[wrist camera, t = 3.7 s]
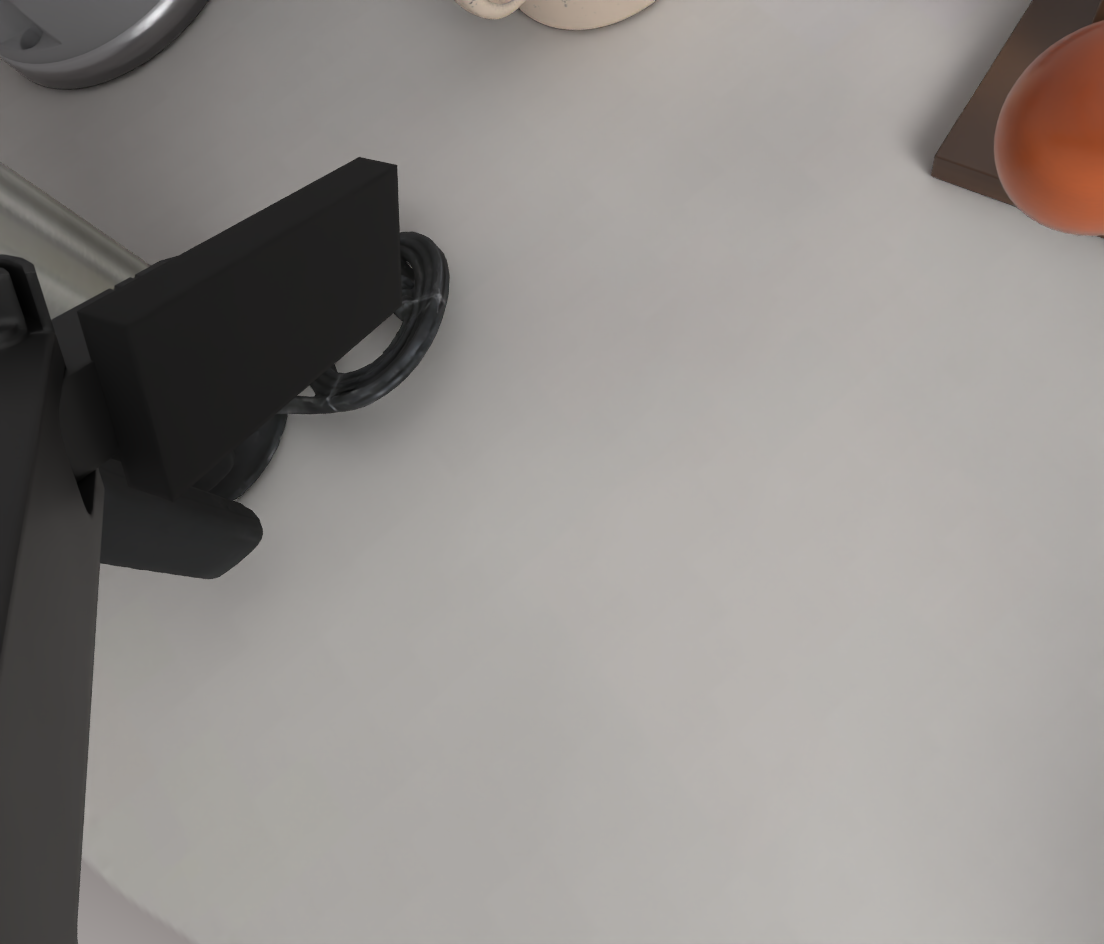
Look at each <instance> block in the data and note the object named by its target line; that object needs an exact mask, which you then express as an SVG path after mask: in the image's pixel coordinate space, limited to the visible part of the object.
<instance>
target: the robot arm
mask: <svg viewBox="0 0 1104 944" xmlns="http://www.w3.org/2000/svg"><path fill="white" fill-rule="evenodd" d="M207 1H208V0H0V58H2V59H3V60H4V61H5V62H7V63H8V64H9V65H10V66H12V67H13V68H14V69H15V70H17V71H18V72H19V73H20V74H22V75H23V76H24V77H26V78H27V79H29V80H30V81H32V82H34V83H36V84H39V85H42V86H45V87H50V88H57V89H76V88H83V87H89V86H93V85H97V84H100V83H103V82H106V81H109V80H112V79H114V78H116V77H119V76H121V75H123V74H125V73H127V72H129V71H131V70H133V69H135V68H136V67H138V66H140V65H141V64H143V63H145V62H146V61H148V60H149V59H151V58H152V57H153V56H155V55H156V54H157V53H159V52H160V51H161V50H163V49H164V48H165V47H166V46H168V45H169V44H170V43H171V42H172V41H173V40H174V39H175V38H176V37H177V36H178V35H179V34H181V33H182V32H183V31H184V30H185V28H186V27H187V26H188V25H189V24H190V23H191V22H192V21H193V20H194V18H195V17H196V16H197V15H198V13H199V12H200V11H201V10H202V8H203V7H204V5H205V4H206V3H207ZM401 306H402V287H401V259H400V231H399V204H398V176H397V165H394V164H389V163H385V162H380V161H375V160H371V159H366V158H361V157H358V158H356V159H355V160H353V161H351V162H349V163H347V164H346V165H344V166H342V167H340V168H338V169H336V170H335V171H333V172H331V173H329V174H327V175H325V176H324V177H322V178H320V179H318V180H316V181H314V182H313V183H311V184H309V185H307V186H305V187H303V188H302V189H300V190H298V191H296V192H294V193H292V194H291V195H289V196H287V197H285V198H283V199H281V200H280V201H278V202H276V203H274V204H272V205H270V206H269V207H267V208H265V209H263V210H261V211H259V212H258V213H256V214H254V215H252V216H250V217H249V218H247V219H245V220H243V221H241V222H239V223H238V224H236V225H234V226H232V227H230V228H228V229H227V230H225V231H223V232H221V233H219V234H217V235H216V236H214V237H212V238H210V239H208V240H206V241H205V242H203V243H201V244H199V245H197V246H195V247H194V248H192V249H190V250H188V251H186V252H184V253H183V254H181V255H179V256H176V257H172V258H168V259H165V260H161V261H159V262H157V263H155V264H153V265H152V266H150V267H148V268H146V269H144V270H142V271H140V272H139V273H137V274H135V277H134V278H131V277H129V278H127V279H126V280H124V281H122V282H120V283H118V284H116V285H115V286H114V289H110V288H109V289H107V290H105V291H103V292H102V293H100V294H98V295H96V296H94V297H92V298H90V299H89V300H87V301H85V302H83V303H81V304H79V305H77V306H76V307H74V308H72V309H70V310H68V311H66V312H65V313H63V314H61V315H59V316H57V317H55V318H53V319H52V320H51V317H50V314H49V311H48V308H47V305H46V302H45V298H44V295H43V292H42V289H41V286H40V283H39V280H38V276H37V273H36V270H35V267H34V264H32V263H31V262H29V261H27V260H25V259H24V258H21V257H16V256H10V255H5V254H0V944H78V940H77V918H78V903H79V887H80V871H81V855H82V840H83V824H84V808H85V792H86V776H87V760H88V744H89V728H90V713H91V697H92V681H93V665H94V649H95V633H96V617H97V601H98V585H99V570H100V554H101V538H102V522H103V506H104V490H105V488H104V485H103V482H102V478H101V475H100V472H99V469H98V467H100V466H101V465H102V464H104V463H105V462H106V461H108V460H109V459H110V458H112V457H113V456H114V455H116V454H117V453H118V454H119V457H120V460H121V464H122V467H123V470H124V474H125V477H126V481H127V484H128V487H131V488H133V489H136V490H139V491H142V492H145V493H148V494H151V495H154V496H157V497H160V498H163V499H166V500H169V501H172V502H174V501H175V500H176V499H177V498H178V497H180V496H181V495H182V494H183V493H184V492H185V491H187V490H188V489H189V488H190V487H191V486H192V485H194V484H195V483H196V482H197V481H198V480H199V479H201V478H202V477H203V476H204V475H205V474H206V473H208V472H209V471H210V470H211V469H212V468H213V467H215V466H216V465H217V464H218V463H219V462H220V461H222V460H223V459H224V458H225V457H226V456H227V455H229V454H230V453H231V452H232V451H233V450H234V449H236V448H237V447H238V446H239V445H240V444H241V443H243V442H244V441H245V440H246V439H247V438H248V437H250V436H251V435H252V434H253V433H254V432H255V431H256V430H258V429H259V428H260V427H261V426H262V425H263V424H265V423H266V422H267V421H268V420H269V419H270V418H272V417H273V416H274V415H275V414H276V413H277V412H279V411H280V410H281V409H282V408H283V407H284V406H286V405H287V404H288V403H289V402H290V401H291V400H293V399H294V398H295V397H296V396H297V395H298V394H300V393H301V392H302V391H303V390H304V389H305V388H307V387H308V386H309V385H310V384H311V383H312V382H314V381H315V380H316V379H317V378H318V377H319V376H321V375H322V374H323V373H324V372H325V371H326V370H328V369H329V368H330V367H331V366H332V365H333V364H334V363H336V362H337V361H338V360H339V359H340V358H341V357H343V356H344V355H345V354H346V353H347V352H348V351H350V350H351V349H352V348H353V347H354V346H355V345H357V344H358V343H359V342H360V341H361V340H362V339H364V338H365V337H366V336H367V335H368V334H369V333H371V332H372V331H373V330H374V329H375V328H376V327H378V326H379V325H380V324H381V323H382V322H383V321H385V320H386V319H387V318H388V317H389V316H390V315H392V314H393V313H394V312H395V311H396V310H397V309H399V308H400V307H401Z"/></svg>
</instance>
